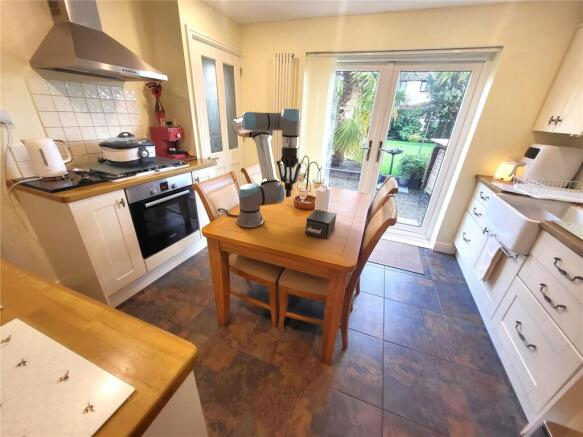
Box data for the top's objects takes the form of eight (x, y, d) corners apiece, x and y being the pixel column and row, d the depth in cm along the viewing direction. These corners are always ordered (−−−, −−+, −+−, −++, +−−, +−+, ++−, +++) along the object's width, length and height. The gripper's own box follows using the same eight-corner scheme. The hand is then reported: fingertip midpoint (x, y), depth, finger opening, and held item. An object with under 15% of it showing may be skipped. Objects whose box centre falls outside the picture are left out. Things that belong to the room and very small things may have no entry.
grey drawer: (322, 242, 122) (324, 229, 119) (302, 237, 126) (303, 224, 123) (332, 228, 137) (334, 216, 133) (314, 224, 141) (315, 212, 137)
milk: (320, 220, 148) (323, 187, 138) (313, 217, 152) (316, 184, 143) (327, 218, 151) (330, 185, 142) (320, 214, 156) (323, 183, 146)
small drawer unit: (327, 239, 127) (328, 223, 123) (305, 233, 132) (306, 218, 127) (334, 228, 139) (336, 213, 135) (314, 223, 144) (315, 209, 139)
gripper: (273, 146, 104) (273, 196, 114) (300, 149, 99) (297, 201, 109) (281, 144, 110) (280, 191, 120) (306, 147, 105) (303, 196, 115)
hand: (288, 196), depth 115 cm, fingers closed
